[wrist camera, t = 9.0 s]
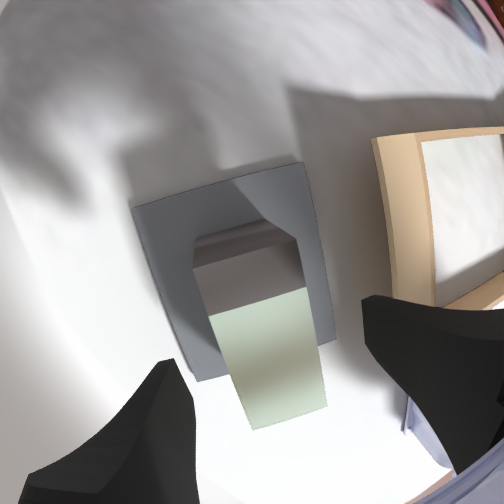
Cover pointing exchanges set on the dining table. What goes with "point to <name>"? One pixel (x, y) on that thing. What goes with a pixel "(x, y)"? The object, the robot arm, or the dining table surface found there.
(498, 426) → the robot arm
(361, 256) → the dining table surface
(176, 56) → the dining table surface
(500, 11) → the food container
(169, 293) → the mat
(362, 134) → the dining table surface
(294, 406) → the box
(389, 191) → the carton
